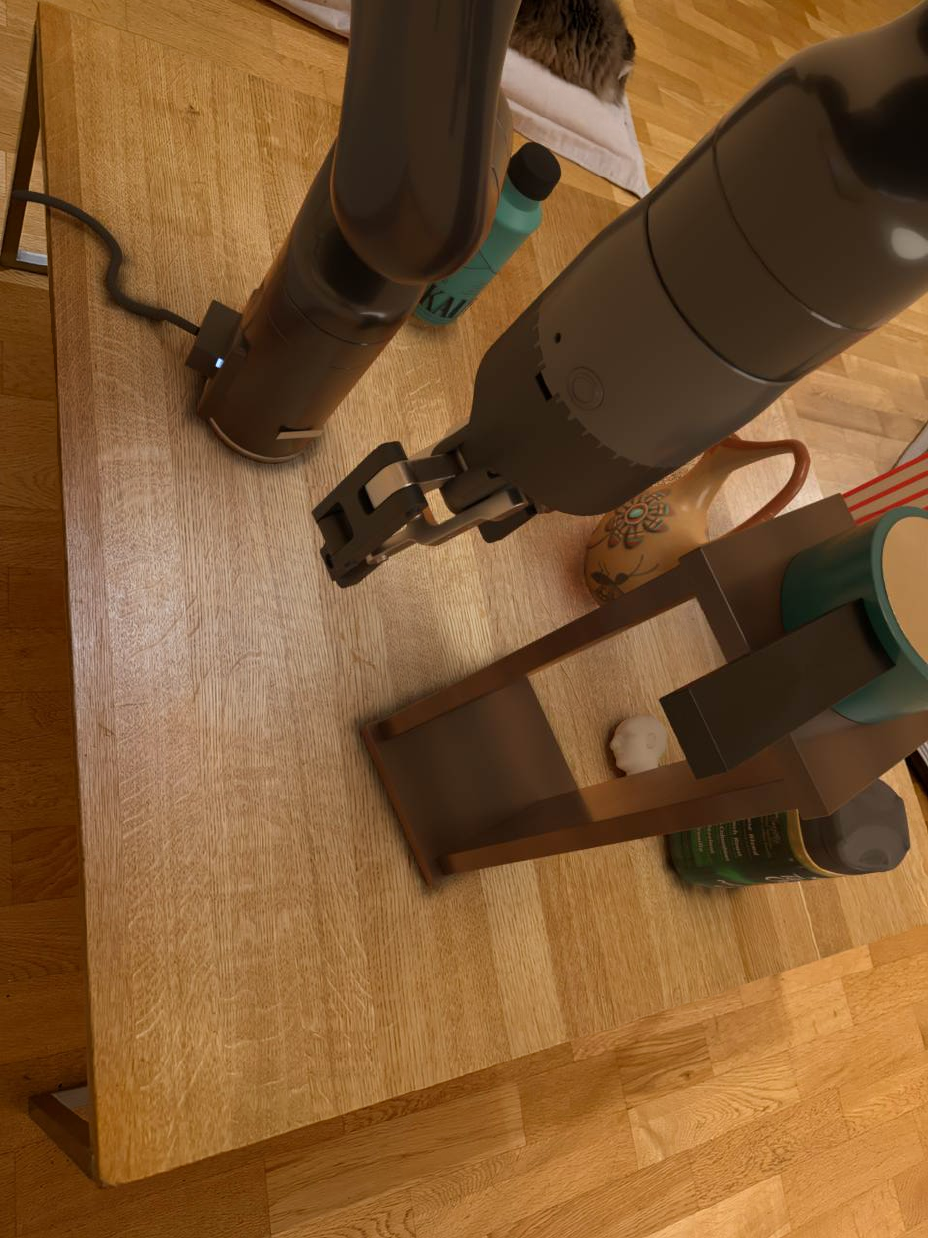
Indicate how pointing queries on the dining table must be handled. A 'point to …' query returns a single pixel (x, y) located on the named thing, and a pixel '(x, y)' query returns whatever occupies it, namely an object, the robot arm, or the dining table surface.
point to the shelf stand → (639, 803)
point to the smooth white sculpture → (639, 744)
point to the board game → (891, 490)
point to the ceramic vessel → (678, 517)
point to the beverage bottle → (497, 234)
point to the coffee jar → (797, 844)
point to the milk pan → (821, 648)
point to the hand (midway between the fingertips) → (413, 545)
